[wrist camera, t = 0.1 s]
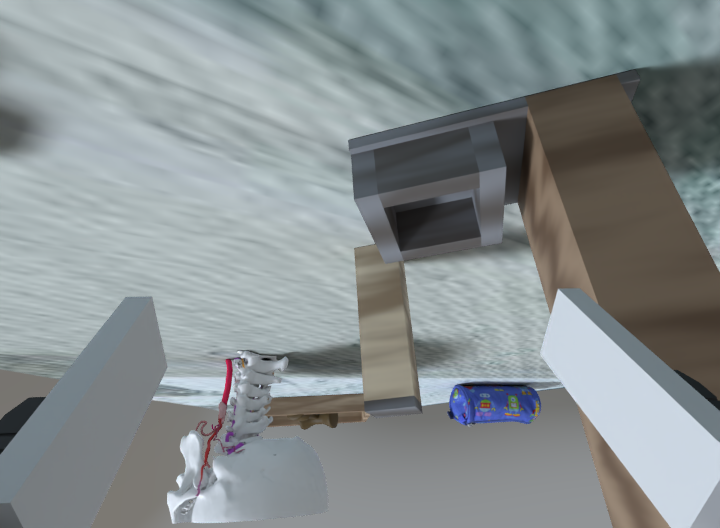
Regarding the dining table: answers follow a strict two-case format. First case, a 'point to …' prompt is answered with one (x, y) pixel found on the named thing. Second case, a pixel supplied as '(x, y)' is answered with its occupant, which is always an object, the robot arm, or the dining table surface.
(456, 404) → the pencil case
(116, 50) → the dining table surface
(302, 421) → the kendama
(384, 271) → the beige wooden tall block
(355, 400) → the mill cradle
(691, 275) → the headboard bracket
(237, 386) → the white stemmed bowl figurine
